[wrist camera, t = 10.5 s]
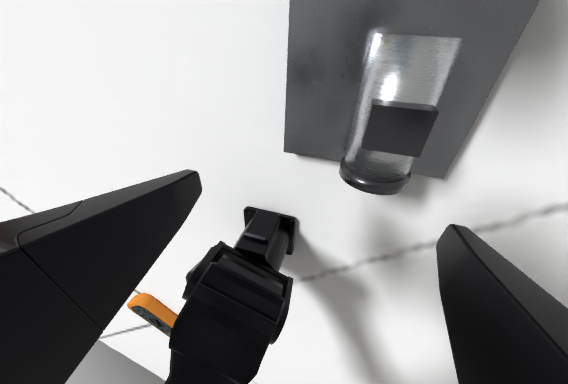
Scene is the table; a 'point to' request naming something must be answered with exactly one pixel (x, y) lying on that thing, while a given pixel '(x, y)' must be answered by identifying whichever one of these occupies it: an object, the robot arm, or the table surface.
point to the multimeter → (153, 312)
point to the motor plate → (345, 59)
